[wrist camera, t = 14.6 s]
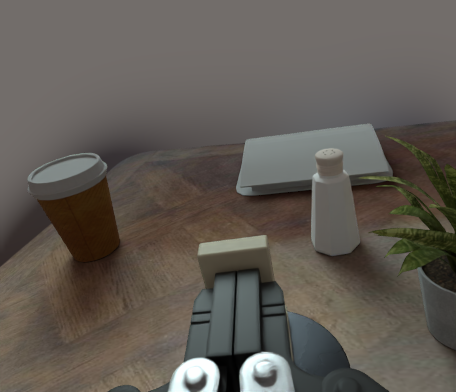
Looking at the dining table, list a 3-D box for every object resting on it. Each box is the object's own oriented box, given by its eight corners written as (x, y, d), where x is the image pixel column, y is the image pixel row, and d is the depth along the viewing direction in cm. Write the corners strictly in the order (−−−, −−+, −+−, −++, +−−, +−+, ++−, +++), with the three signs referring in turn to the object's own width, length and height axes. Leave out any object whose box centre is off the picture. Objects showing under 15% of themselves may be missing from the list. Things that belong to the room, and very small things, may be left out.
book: (243, 157, 73) (240, 137, 71) (376, 141, 68) (376, 119, 66) (233, 197, 59) (229, 174, 58) (397, 181, 55) (398, 155, 53)
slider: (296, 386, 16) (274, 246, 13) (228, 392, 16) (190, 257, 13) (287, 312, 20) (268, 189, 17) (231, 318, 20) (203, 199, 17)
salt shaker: (362, 230, 46) (359, 141, 41) (358, 258, 42) (354, 163, 37) (315, 228, 48) (307, 143, 43) (306, 254, 44) (296, 164, 39)
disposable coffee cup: (86, 228, 59) (55, 154, 54) (143, 227, 56) (117, 148, 51) (45, 270, 51) (5, 187, 46) (109, 271, 48) (74, 183, 43)
